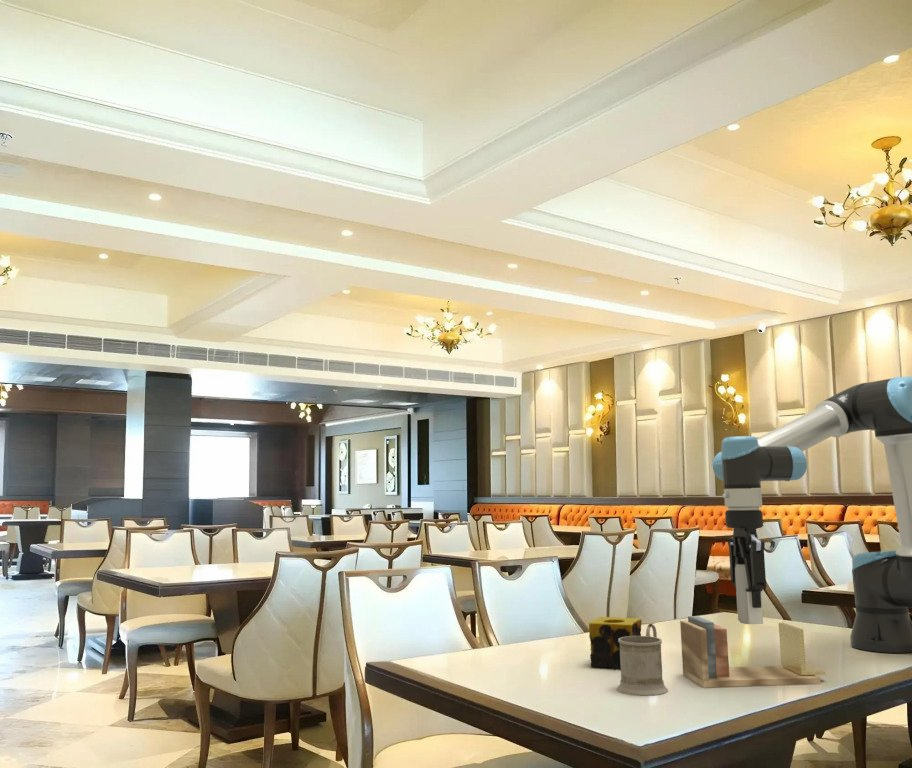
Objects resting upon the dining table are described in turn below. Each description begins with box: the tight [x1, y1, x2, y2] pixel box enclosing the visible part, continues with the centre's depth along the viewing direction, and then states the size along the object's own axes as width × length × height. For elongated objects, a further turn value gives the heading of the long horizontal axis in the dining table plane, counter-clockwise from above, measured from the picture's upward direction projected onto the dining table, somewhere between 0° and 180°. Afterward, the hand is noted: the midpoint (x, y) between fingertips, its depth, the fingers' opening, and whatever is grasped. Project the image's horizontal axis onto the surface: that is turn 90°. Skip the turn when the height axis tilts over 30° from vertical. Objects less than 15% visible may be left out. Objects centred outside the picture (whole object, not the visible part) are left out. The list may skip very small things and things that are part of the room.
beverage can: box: [735, 564, 750, 625], centre depth 172 cm, size 5×5×12 cm
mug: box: [616, 622, 669, 697], centre depth 165 cm, size 14×10×12 cm
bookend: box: [778, 622, 826, 676], centre depth 171 cm, size 5×9×9 cm, turn 4°
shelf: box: [679, 615, 821, 689], centre depth 171 cm, size 24×12×12 cm, turn 94°
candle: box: [588, 616, 642, 671], centre depth 187 cm, size 10×10×10 cm
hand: (750, 621), depth 171 cm, fingers closed on beverage can, 5 cm apart
